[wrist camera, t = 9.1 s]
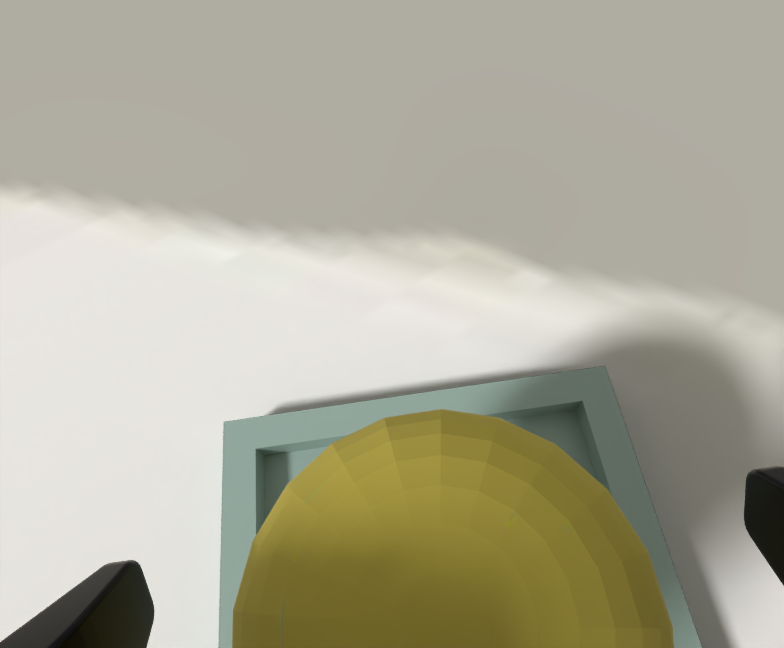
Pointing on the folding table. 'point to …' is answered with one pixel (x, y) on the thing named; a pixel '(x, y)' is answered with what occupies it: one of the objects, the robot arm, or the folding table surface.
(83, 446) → the folding table surface
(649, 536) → the tray
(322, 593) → the light bulb
